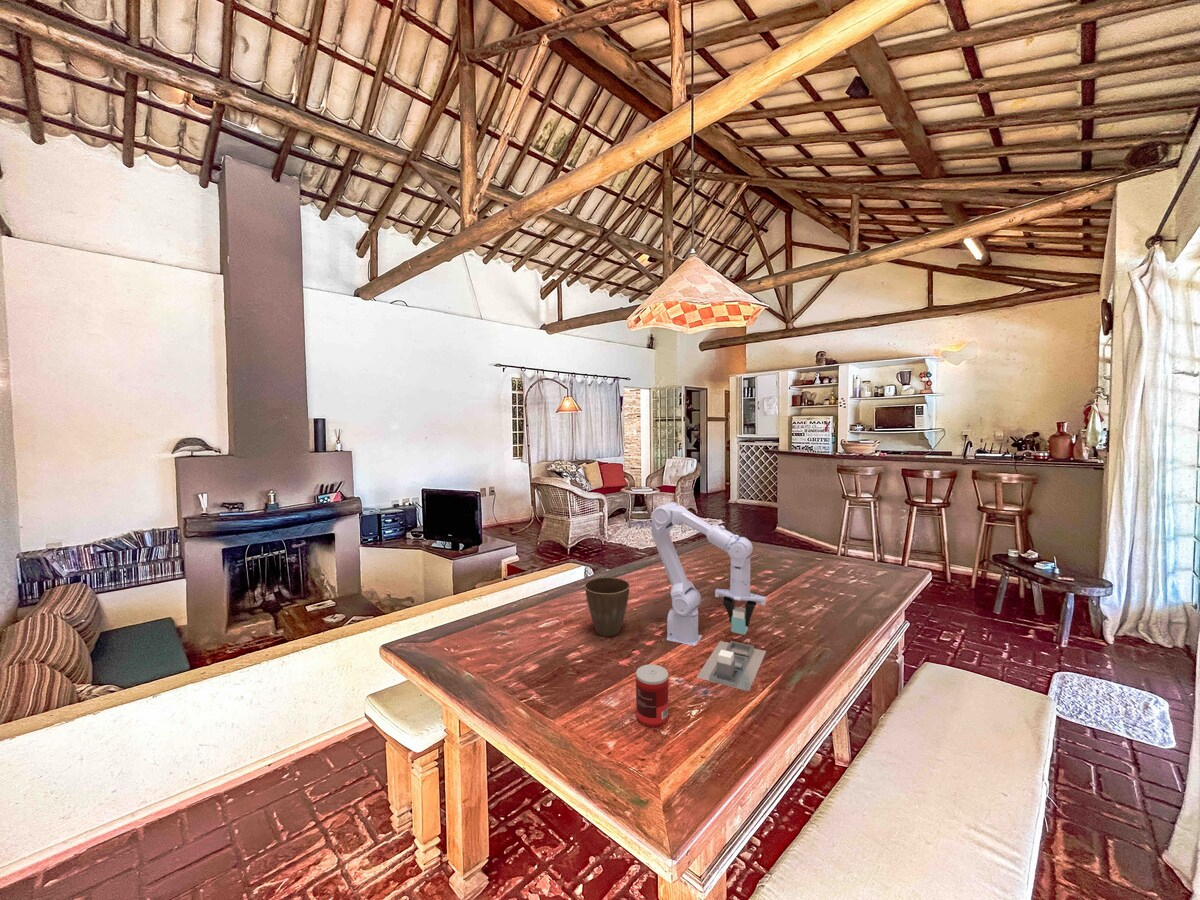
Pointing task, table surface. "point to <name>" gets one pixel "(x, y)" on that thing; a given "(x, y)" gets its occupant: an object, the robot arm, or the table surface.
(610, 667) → the table surface
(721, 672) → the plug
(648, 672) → the canned food
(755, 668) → the panel
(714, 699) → the table surface
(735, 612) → the plug
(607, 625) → the plant pot
